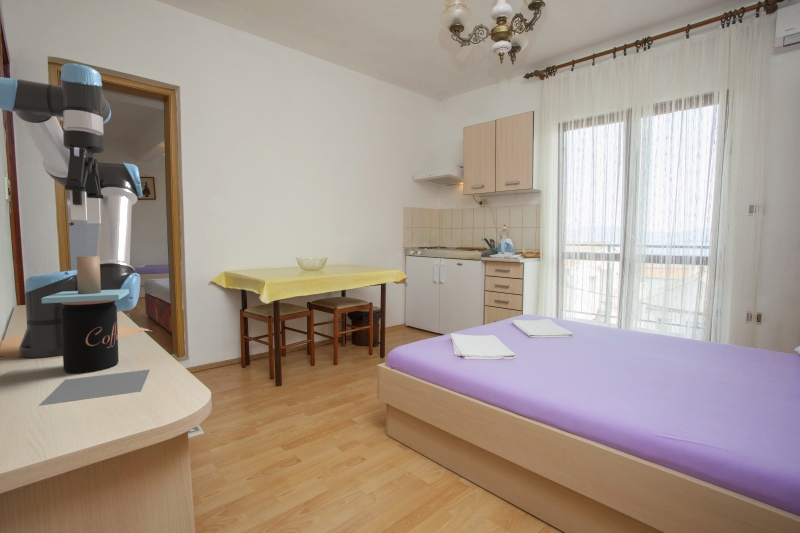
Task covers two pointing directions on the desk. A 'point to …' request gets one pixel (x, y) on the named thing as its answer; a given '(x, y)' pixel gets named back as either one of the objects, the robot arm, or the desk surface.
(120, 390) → the mat
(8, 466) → the desk surface
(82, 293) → the lid
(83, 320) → the coffee jar
